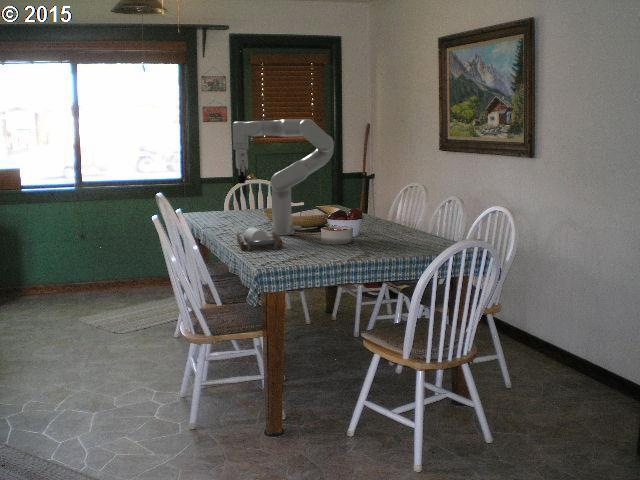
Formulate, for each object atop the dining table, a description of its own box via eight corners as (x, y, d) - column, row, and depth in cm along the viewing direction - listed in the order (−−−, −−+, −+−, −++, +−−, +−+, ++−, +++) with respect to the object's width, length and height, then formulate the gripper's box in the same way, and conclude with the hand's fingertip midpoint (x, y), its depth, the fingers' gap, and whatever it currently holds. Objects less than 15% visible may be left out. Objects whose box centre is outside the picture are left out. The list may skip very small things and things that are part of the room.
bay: (275, 239, 375) (274, 230, 374) (283, 249, 345) (282, 240, 345) (237, 241, 371) (236, 232, 371) (241, 251, 342) (241, 241, 341)
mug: (252, 248, 352) (251, 230, 350) (243, 245, 360) (243, 228, 359) (276, 245, 357) (275, 228, 356) (267, 242, 366) (267, 226, 364)
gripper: (250, 146, 379) (251, 184, 382) (246, 145, 393) (246, 181, 396) (235, 147, 377) (236, 184, 380) (231, 146, 391) (232, 182, 394)
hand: (241, 183), depth 388 cm, fingers closed
